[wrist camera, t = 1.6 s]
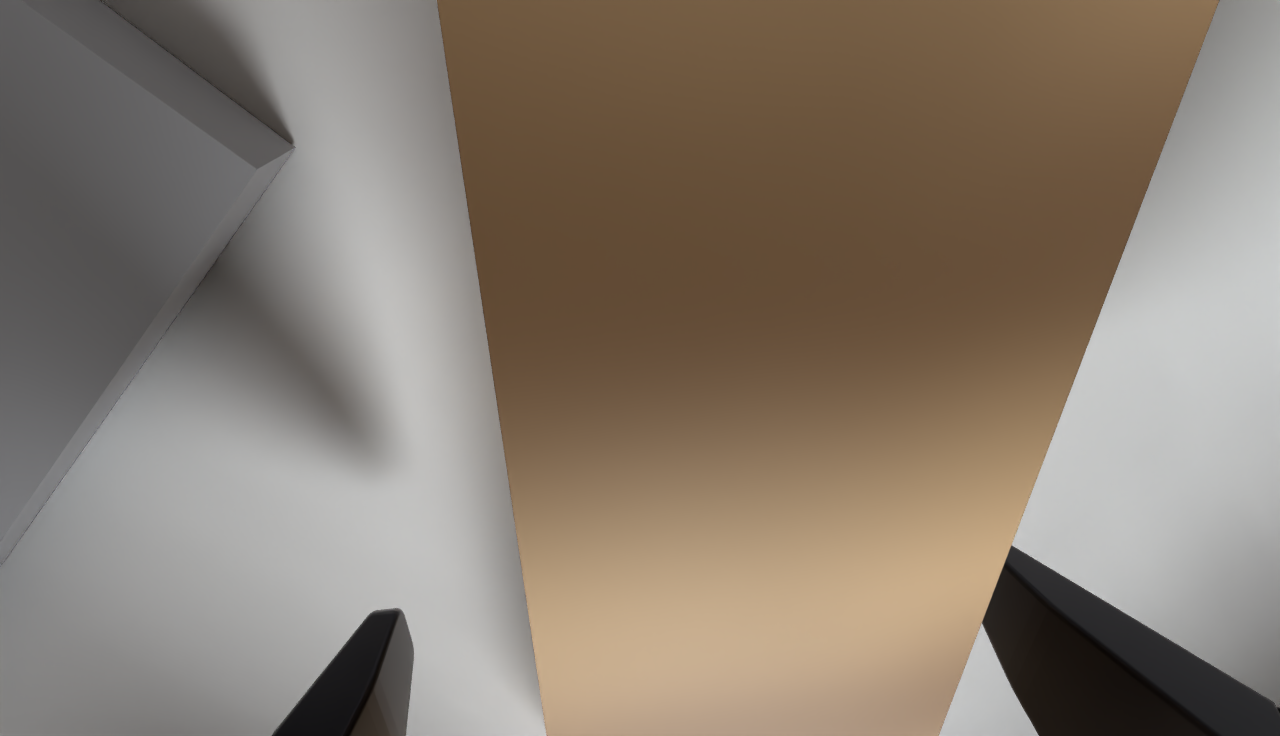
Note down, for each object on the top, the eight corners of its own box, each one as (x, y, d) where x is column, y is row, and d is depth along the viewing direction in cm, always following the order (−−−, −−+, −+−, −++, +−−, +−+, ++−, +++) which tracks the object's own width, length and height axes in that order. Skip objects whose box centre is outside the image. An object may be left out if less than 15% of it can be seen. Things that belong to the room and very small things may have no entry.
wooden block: (762, 726, 16) (841, 991, 12) (579, 750, 16) (591, 1036, 11) (866, -14, 8) (1231, -32, 4) (498, -9, 8) (434, -23, 3)
